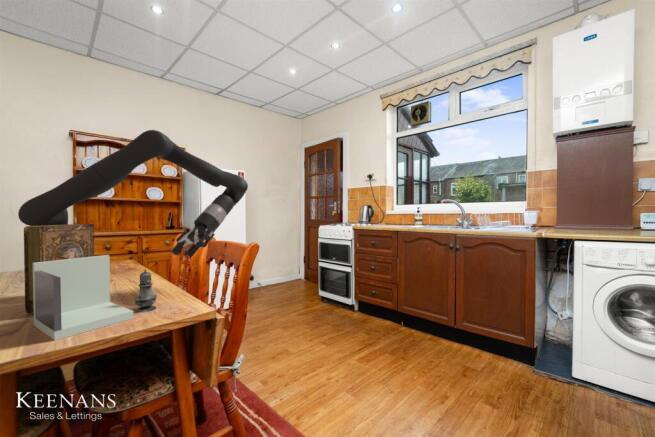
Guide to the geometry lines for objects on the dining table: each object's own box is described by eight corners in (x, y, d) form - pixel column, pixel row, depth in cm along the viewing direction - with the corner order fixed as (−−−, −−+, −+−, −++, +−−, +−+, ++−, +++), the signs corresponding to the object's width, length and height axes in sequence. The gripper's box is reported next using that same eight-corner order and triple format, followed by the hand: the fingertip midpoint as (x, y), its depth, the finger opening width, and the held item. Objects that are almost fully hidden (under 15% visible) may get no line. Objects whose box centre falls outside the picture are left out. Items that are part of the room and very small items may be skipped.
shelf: (34, 325, 73) (32, 262, 73) (108, 307, 87) (107, 254, 86) (54, 340, 65) (53, 269, 64) (133, 318, 78) (132, 259, 78)
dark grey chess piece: (152, 312, 83) (151, 270, 83) (130, 313, 82) (129, 271, 82) (160, 305, 89) (160, 266, 89) (139, 306, 88) (139, 267, 88)
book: (85, 297, 97) (83, 223, 96) (98, 298, 96) (97, 223, 95) (25, 315, 81) (23, 226, 80) (40, 316, 80) (38, 226, 79)
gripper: (192, 211, 105) (160, 245, 96) (217, 211, 98) (185, 248, 88) (205, 225, 110) (176, 259, 100) (230, 226, 102) (201, 263, 93)
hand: (180, 254), depth 94 cm, fingers open, 8 cm apart
